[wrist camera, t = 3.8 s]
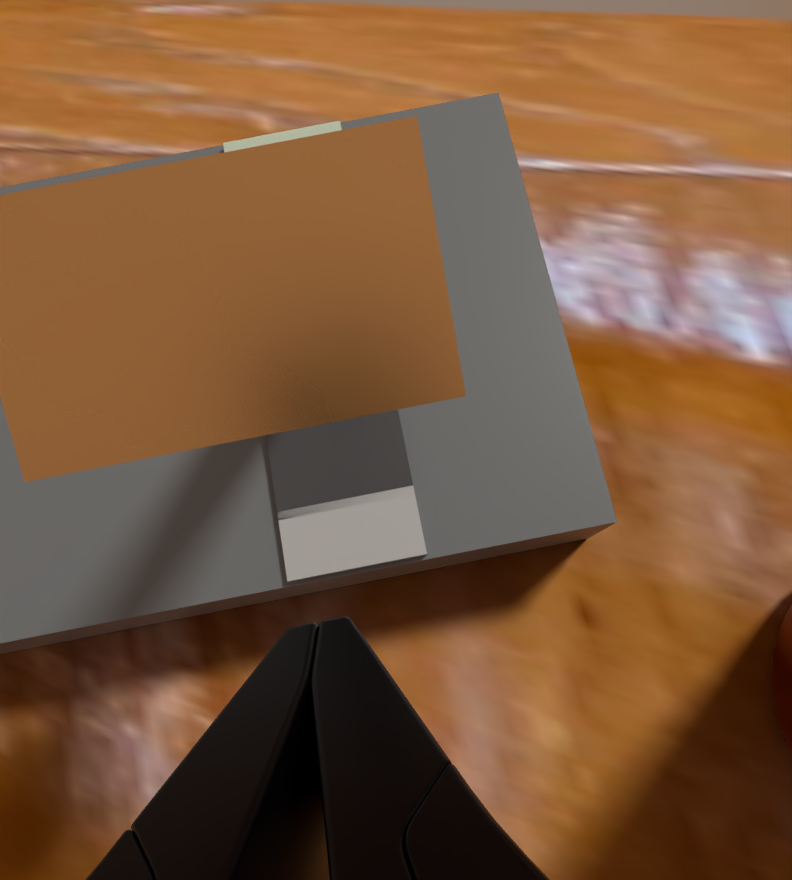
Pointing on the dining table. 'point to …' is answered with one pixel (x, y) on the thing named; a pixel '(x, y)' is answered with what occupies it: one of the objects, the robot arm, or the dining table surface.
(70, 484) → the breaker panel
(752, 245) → the dining table surface
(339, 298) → the lever
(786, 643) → the soda can
